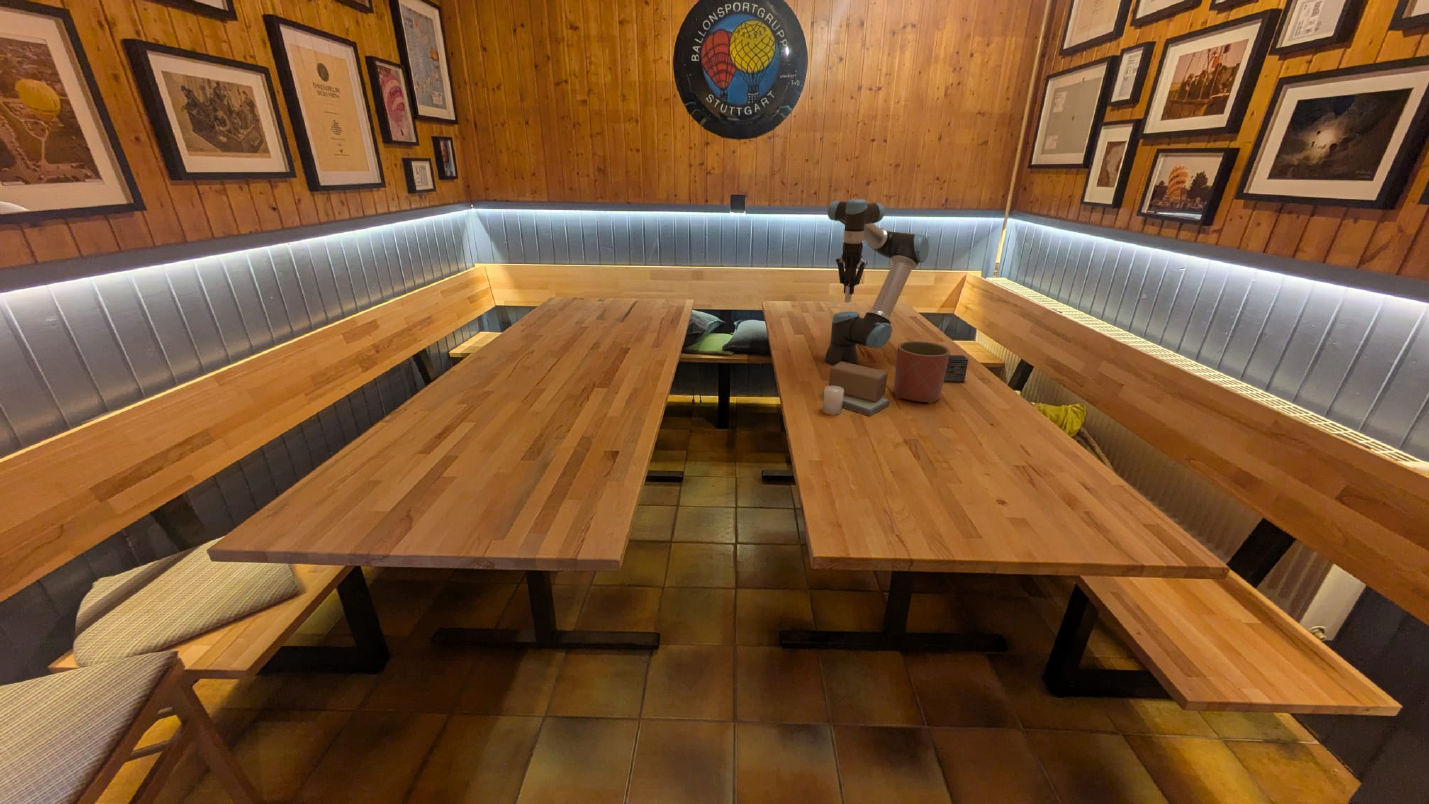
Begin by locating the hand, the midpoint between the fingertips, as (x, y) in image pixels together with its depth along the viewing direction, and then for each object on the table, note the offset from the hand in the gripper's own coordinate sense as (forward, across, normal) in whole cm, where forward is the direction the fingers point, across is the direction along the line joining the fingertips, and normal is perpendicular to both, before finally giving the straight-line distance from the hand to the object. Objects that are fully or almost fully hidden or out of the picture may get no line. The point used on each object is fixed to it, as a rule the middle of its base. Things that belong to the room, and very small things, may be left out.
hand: (847, 301), depth 225 cm
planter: (+34, +31, +5) cm, 47 cm away
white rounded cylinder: (+33, +16, -32) cm, 48 cm away
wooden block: (+26, +6, -16) cm, 31 cm away
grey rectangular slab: (+33, +19, -18) cm, 43 cm away
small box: (+35, +34, +32) cm, 58 cm away
